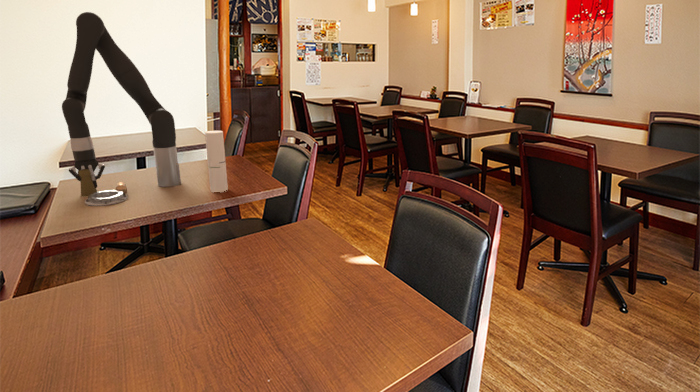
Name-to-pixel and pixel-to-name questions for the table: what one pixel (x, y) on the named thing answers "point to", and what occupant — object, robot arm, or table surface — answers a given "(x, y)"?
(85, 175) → the cork
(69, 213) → the table surface
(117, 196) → the flange seat
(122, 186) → the pipe stub
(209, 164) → the beige rectangular tower
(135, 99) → the robot arm
